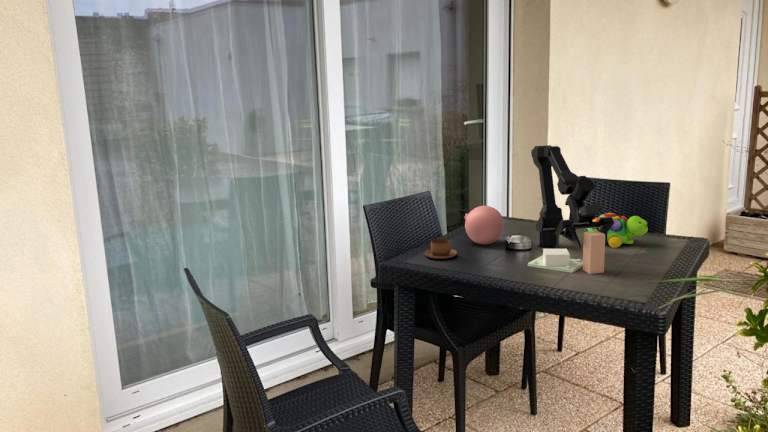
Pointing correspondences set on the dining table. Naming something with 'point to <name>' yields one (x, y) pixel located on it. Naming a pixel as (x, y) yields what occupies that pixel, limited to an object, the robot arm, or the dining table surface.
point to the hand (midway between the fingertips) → (593, 246)
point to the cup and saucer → (440, 249)
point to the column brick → (593, 252)
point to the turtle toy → (623, 229)
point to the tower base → (558, 268)
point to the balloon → (484, 224)
